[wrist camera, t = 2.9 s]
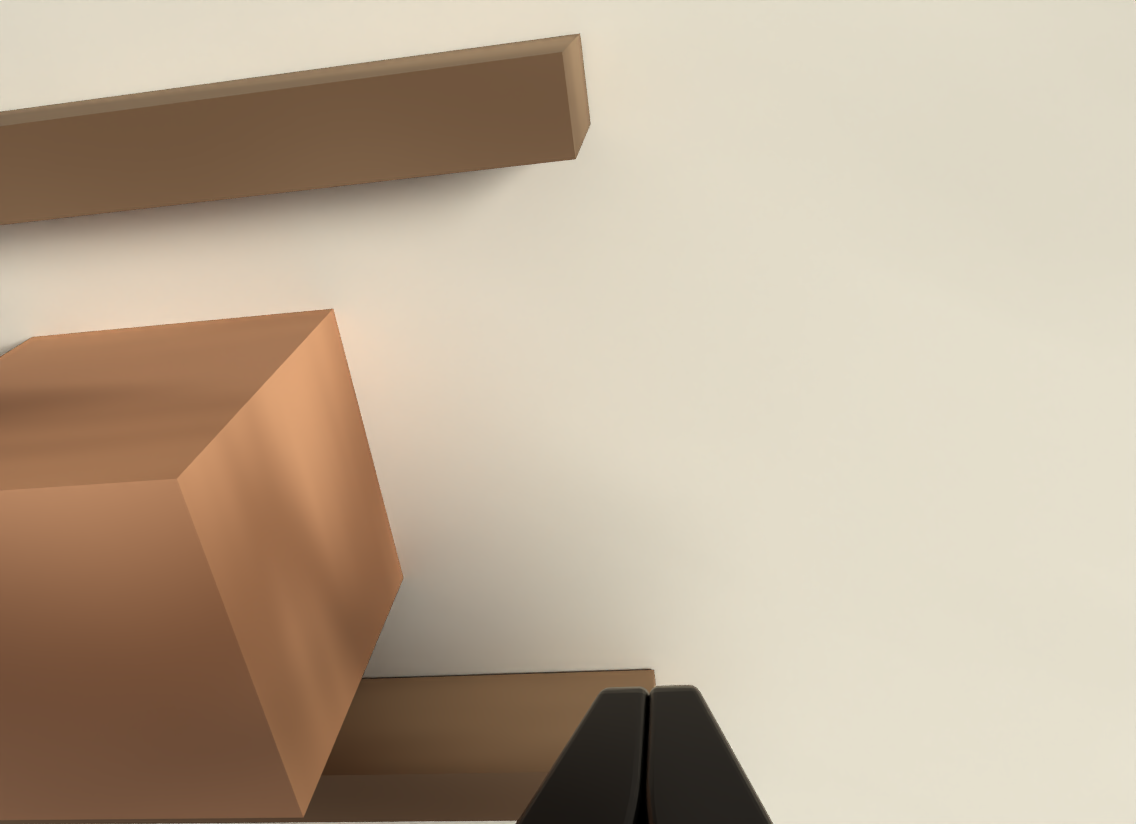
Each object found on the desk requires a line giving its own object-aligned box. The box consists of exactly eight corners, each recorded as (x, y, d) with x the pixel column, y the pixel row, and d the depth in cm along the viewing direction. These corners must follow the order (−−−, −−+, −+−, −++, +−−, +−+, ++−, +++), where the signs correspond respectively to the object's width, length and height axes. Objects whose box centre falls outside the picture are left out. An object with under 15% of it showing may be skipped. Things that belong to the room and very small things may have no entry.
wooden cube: (404, 575, 14) (304, 817, 10) (141, 587, 15) (-49, 821, 11) (335, 306, 12) (177, 479, 8) (36, 335, 13) (-244, 506, 9)
